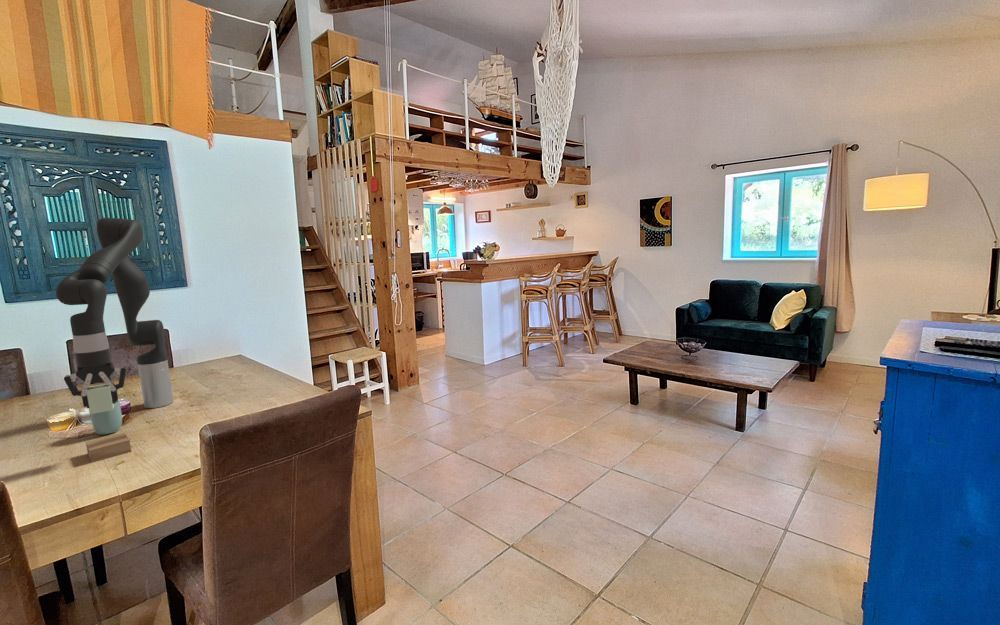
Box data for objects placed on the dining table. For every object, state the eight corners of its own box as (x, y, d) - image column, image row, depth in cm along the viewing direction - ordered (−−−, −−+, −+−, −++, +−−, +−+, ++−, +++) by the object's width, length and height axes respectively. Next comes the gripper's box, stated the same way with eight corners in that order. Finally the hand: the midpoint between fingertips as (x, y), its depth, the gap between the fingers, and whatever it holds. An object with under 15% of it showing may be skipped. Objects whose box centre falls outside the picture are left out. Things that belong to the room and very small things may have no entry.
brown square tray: (87, 454, 135) (85, 442, 135) (126, 444, 142) (124, 432, 141) (91, 463, 129) (89, 450, 128) (131, 452, 136) (129, 440, 135)
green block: (91, 409, 134) (87, 386, 133) (114, 405, 137) (110, 383, 136) (90, 414, 130) (86, 390, 129) (113, 409, 133) (109, 386, 132)
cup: (122, 425, 157) (118, 397, 155) (125, 431, 151) (120, 403, 150) (92, 432, 151) (87, 404, 150) (94, 439, 146) (89, 409, 144)
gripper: (124, 342, 138) (133, 396, 140) (59, 351, 129) (70, 408, 132) (123, 346, 132) (132, 402, 135) (55, 355, 123) (66, 415, 126)
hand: (101, 405), depth 133 cm, fingers closed on green block, 5 cm apart
